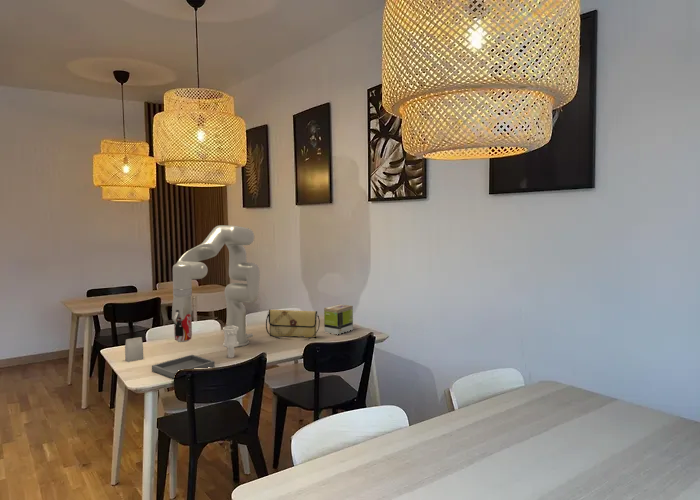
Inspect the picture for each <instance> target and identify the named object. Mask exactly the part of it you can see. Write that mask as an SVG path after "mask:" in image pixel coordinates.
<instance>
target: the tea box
mask: <svg viewBox="0 0 700 500" xmlns="http://www.w3.org/2000/svg"><path fill="white" fill-rule="evenodd" d="M353 309H354V308H353V305H349V304H341V303H339V304H336V305H332V306H328V307H324V309H323V310H324V311H323V315H324V316H323V318H324V319H323V322H324V323H323V325H324V330H323V331H324V333H325V332H328V333H333V334H337V335H336V336H339V335H338V334H340V335H342V334H341V333H343V334H345V333H344V332H346V333H348V332H351V331H353V330H354V325H353V324H354V318H353V317H354V316H353V315H354V314H353V313H354V310H353ZM350 330H351V331H350ZM347 331H348V332H347ZM328 333H327V334H328ZM333 334H332V335H333Z"/></svg>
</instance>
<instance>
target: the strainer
mask: <svg viewBox="0 0 700 500" xmlns="http://www.w3.org/2000/svg"><path fill="white" fill-rule="evenodd" d="M231 328H233V329H231ZM222 331H223V332H224V333H223V335H224V337H223V338H224V341H223V343H222V347H225V348H227V358H231V359H232V358H234V357H235V348H236V346H238V345H239V342H237V331H238V327H237V326H234V325H233V326H227V325H226V326H223V327H222ZM229 333H230V334H229Z"/></svg>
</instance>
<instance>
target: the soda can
mask: <svg viewBox="0 0 700 500" xmlns="http://www.w3.org/2000/svg"><path fill="white" fill-rule="evenodd" d="M178 319H181V318H178ZM179 322H180V321H179ZM173 325H174V327H173V328H174V329H173V330H174V340H175V341H176V342H178V343H185V342H189V341H190V340H191V339H192V335H193V334H192V333H193V331H192V330H193V329H192V328H193V326H192V325H193V324H192V315H190V312H189V313H188V314H186V317H185V319H184V320H183V324H182V327H183V336H175V324H174V323H173Z"/></svg>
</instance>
